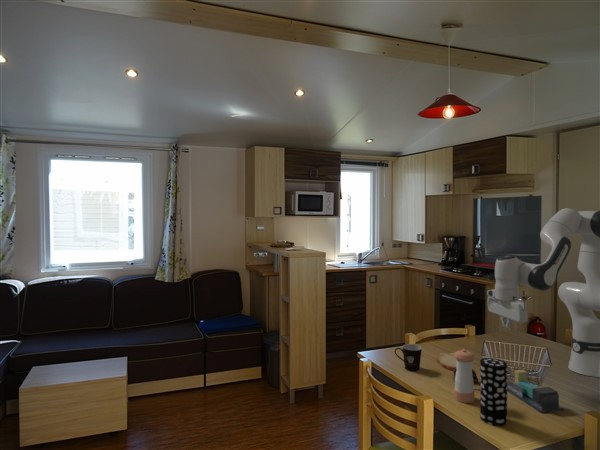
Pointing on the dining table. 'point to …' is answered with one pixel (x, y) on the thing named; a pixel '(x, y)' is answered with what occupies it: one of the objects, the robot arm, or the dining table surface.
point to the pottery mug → (472, 375)
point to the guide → (537, 397)
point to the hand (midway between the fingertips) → (506, 327)
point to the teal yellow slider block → (524, 382)
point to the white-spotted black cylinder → (493, 391)
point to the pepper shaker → (464, 377)
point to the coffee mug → (411, 356)
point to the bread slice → (447, 360)
